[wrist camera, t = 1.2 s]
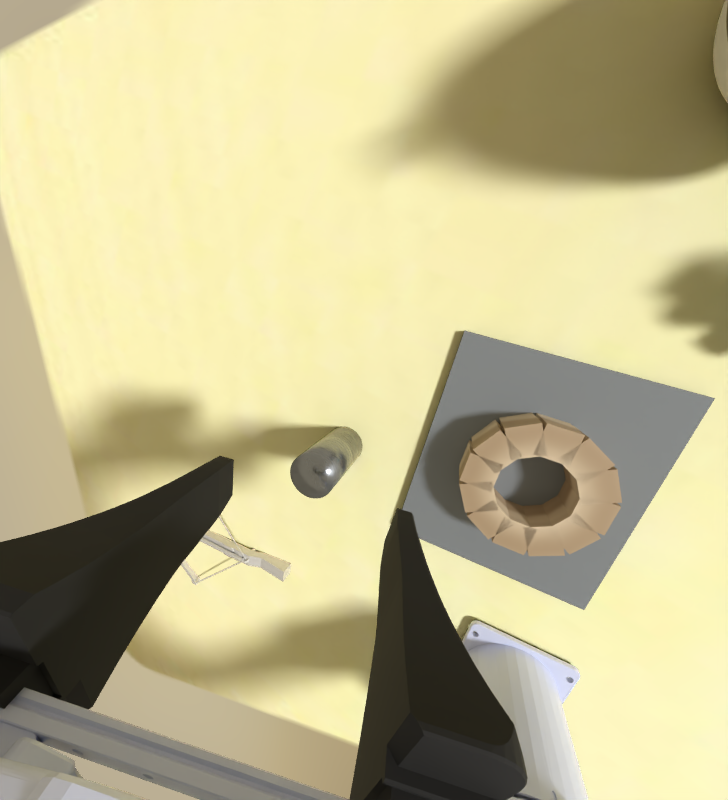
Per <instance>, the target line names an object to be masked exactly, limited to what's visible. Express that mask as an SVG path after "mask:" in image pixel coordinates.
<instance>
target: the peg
mask: <svg viewBox="0 0 728 800" xmlns="http://www.w3.org/2000/svg"><path fill="white" fill-rule="evenodd" d="M361 451H362V441H361V438H360V437H359V435H358V434H357V433H356V432H355V431H354V430H353V429H351V428H348V427H338V428H336V429H334V430H333V431H331V432H330V433H329V434H327V435H326V436H325V437H323V438H322V439H321V440H320V441H318V442H317V443H316V444H314V445H313V446H312V447H310V448H309V449H308V450H306V451H305V452H304V453H302V454H301V455H300V456H298V457H297V458H296V459H295V460H294V461H293V463H292V465H291V470H290V474H291V479H292V482H293V484H294V486H295V487H296V488H297V490H298V491H299V492H301V493H302V494H303V495H305V496H307V497H310V498H321V497H324V496H326V495H327V494H328V493H329V492H330V491H331V490H332V488H333V487H334V486H335V485H336V484H337V482H338V481H339V480H340V479H341V477H342V476H343V475H344V474H345V473H346V471H347V470H348V469H349V468H350V466H351V465H352V464H353V463H354V462H355V460H356V459H357V458H358V457H359V455H360V454H361Z"/></svg>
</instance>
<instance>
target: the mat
mask: <svg viewBox="0 0 728 800" xmlns="http://www.w3.org/2000/svg"><path fill="white" fill-rule="evenodd" d="M714 399H715V398H712V397H708V396H704V395H700V394H697V393H693V392H689V391H686V390H682V389H678V388H675V387H671V386H667V385H664V384H660V383H656V382H652V381H649V380H645V379H641V378H638V377H634V376H630V375H627V374H623V373H619V372H615V371H612V370H608V369H604V368H601V367H597V366H593V365H590V364H586V363H582V362H578V361H575V360H571V359H567V358H564V357H560V356H556V355H553V354H549V353H545V352H541V351H538V350H534V349H530V348H527V347H523V346H519V345H516V344H512V343H508V342H505V341H501V340H497V339H493V338H490V337H486V336H482V335H479V334H475V333H471V332H468V331H464V334H463V337H462V339H461V342H460V345H459V348H458V351H457V354H456V357H455V359H454V362H453V365H452V368H451V371H450V374H449V377H448V379H447V382H446V385H445V388H444V391H443V394H442V397H441V399H440V402H439V405H438V408H437V411H436V414H435V417H434V419H433V422H432V425H431V428H430V431H429V434H428V437H427V439H426V442H425V445H424V448H423V451H422V454H421V457H420V459H419V462H418V465H417V468H416V471H415V474H414V477H413V479H412V482H411V485H410V488H409V491H408V494H407V497H406V499H405V502H404V505H403V508H402V510H405V511H408V512H412V514H413V516H414V521H415V525H416V529H417V533H418V537H419V538H420V539H422V540H424V541H427V542H429V543H431V544H433V545H436V546H438V547H440V548H443V549H445V550H447V551H450V552H452V553H454V554H456V555H459V556H461V557H463V558H466V559H468V560H470V561H473V562H475V563H477V564H479V565H482V566H484V567H486V568H489V569H491V570H493V571H496V572H498V573H500V574H502V575H505V576H507V577H509V578H512V579H514V580H516V581H519V582H521V583H523V584H525V585H528V586H530V587H532V588H535V589H537V590H539V591H542V592H544V593H546V594H548V595H551V596H553V597H555V598H558V599H560V600H562V601H565V602H567V603H569V604H571V605H574V606H576V607H578V608H581V609H583V610H584V609H585V608H586V606H587V604H588V603H589V601H590V600H591V598H592V596H593V595H594V593H595V592H596V590H597V588H598V587H599V585H600V583H601V582H602V580H603V579H604V577H605V575H606V574H607V572H608V571H609V569H610V567H611V566H612V564H613V562H614V561H615V559H616V558H617V556H618V554H619V553H620V551H621V549H622V548H623V546H624V545H625V543H626V541H627V540H628V538H629V537H630V535H631V533H632V532H633V530H634V528H635V527H636V525H637V524H638V522H639V520H640V519H641V517H642V516H643V514H644V512H645V511H646V509H647V507H648V506H649V504H650V503H651V501H652V499H653V498H654V496H655V494H656V493H657V491H658V490H659V488H660V486H661V485H662V483H663V482H664V480H665V478H666V477H667V475H668V473H669V472H670V470H671V469H672V467H673V465H674V464H675V462H676V461H677V459H678V457H679V456H680V454H681V452H682V451H683V449H684V448H685V446H686V444H687V443H688V441H689V439H690V438H691V436H692V435H693V433H694V431H695V430H696V428H697V427H698V425H699V423H700V422H701V420H702V418H703V417H704V415H705V414H706V412H707V410H708V409H709V407H710V406H711V404H712V402H713V401H714ZM526 413H533V414H534V415H535V416H536V413H539V414H542V415H545V416H548V417H551V418H555V419H558V420H561V421H564V422H567V423H570V424H571V425H573V426H575V427H576V428H577V429H579V430H580V431H581V432H582V433H584V434H585V435H586V436H588V437H589V438H590V439H591V440H592V441H593V442H594V443H595V444H596V445H597V446H598V447H599V448H600V450H601V451H602V452H603V453H604V454H605V455H606V456H607V457H608V458H609V459H610V460H611V461H612V462H613V463H614V464H615V466H614V467H615V468H616V469H618V477H619V484H620V491H621V498H622V503H618V504H619V505H620V506H621V508H620V510H619V512H618V513H617V515H616V517H615V518H614V520H613V522H612V524H611V525H610V527H609V529H608V530H607V532H606V534H605V535H602V534H599V533H598V535H599V536H600V538H601V539H599V540H597V541H595V542H593V543H591V544H589V545H587V546H585V547H584V548H582V549H580V550H578V551H576V552H574V553H572V554H569V553H568V552H567V551H566V550H565V549H564V553H565V556H528V552H527V551H526V553H525V554H524V555H522V554H520V553H517V552H515V551H512V550H510V549H507V548H505V547H503V546H500V545H498V544H495V543H493V542H492V539H491V538H490V539H487V537H486V536H485V535H484V534H483V533H482V532H481V531H480V530H479V529H478V528H477V526H476V525H475V524H474V523H473V522H472V521H471V520H470V519H469V518H468V517H467V513H465V509H464V504H463V500H462V495H461V490H460V486H459V464H460V462H461V459H462V457H463V454H464V452H465V449H466V447H467V444H468V442H469V440H470V441H472V438H471V437H472V436H474V435H475V434H476V433H478V432H479V431H480V430H482V429H483V428H484V427H486V426H487V425H488V424H490V423H491V422H492V421H494V420H496V421H497V422H498V423H499V424H500V420H499V418H501V417H507V416H513V415H520V414H526ZM565 480H566V479H565V473H564V467H563V465H562V464H560V463H558V462H555V461H552V460H549V459H546V458H543V457H531V458H522V459H517V460H515V461H514V462H512V463H511V464H509V465H508V466H507V467H505V468H504V469H502V470H501V471H500V473H499V475H498V478H497V480H496V482H495V485H494V488H495V489H496V490H497V491H498V493H499V494H500V495H501V496H502V497H503V498H504V499H505V500H508V501H511V502H513V503H516V504H518V505H521V506H529V505H542V504H544V503H545V502H547V501H549V500H550V499H552V498H554V497H556V496H557V495H558V494H559V492H560V490H561V488H562V486H563V484H564V482H565Z"/></svg>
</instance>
